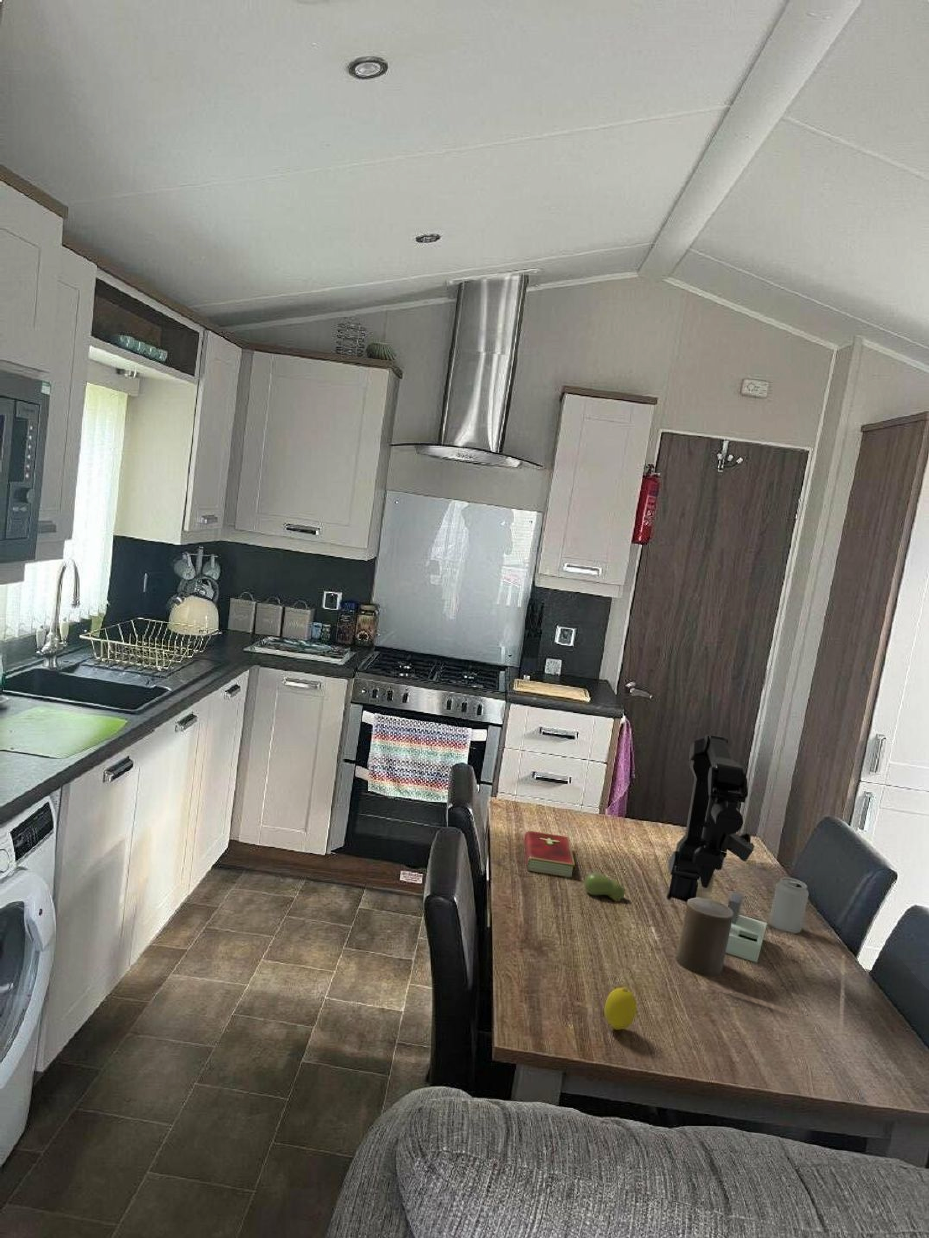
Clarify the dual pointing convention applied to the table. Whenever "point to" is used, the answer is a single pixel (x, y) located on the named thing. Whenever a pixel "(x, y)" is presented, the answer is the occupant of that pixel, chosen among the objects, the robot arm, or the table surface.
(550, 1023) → the table surface
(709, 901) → the pillar candle
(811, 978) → the table surface
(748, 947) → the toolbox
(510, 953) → the table surface
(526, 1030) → the table surface
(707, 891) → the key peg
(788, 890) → the can
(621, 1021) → the lemon
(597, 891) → the pear
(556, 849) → the hardcover book
